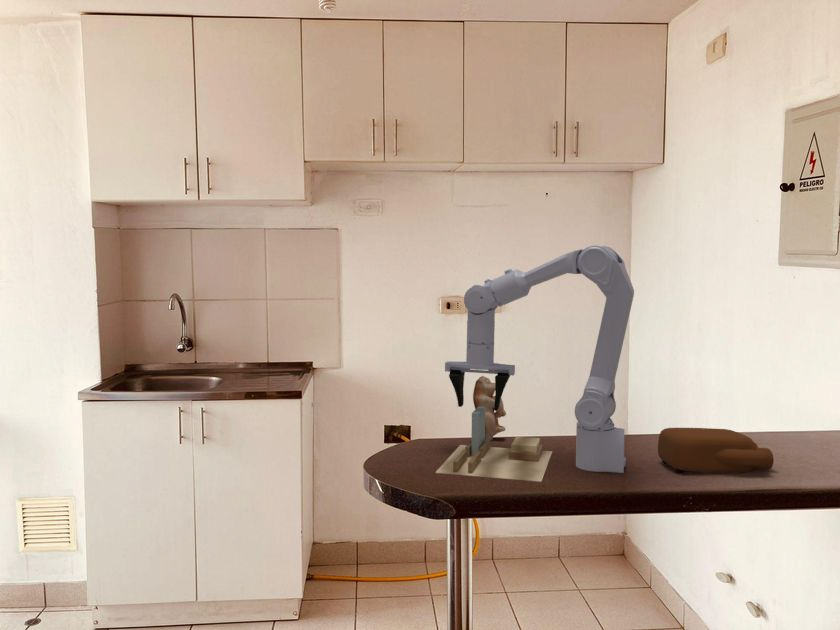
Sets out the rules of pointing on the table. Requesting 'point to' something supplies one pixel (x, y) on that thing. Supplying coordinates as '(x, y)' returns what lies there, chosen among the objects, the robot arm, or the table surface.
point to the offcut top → (525, 445)
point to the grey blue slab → (478, 429)
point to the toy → (711, 451)
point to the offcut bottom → (525, 455)
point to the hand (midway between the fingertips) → (478, 407)
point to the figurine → (488, 406)
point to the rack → (493, 463)
